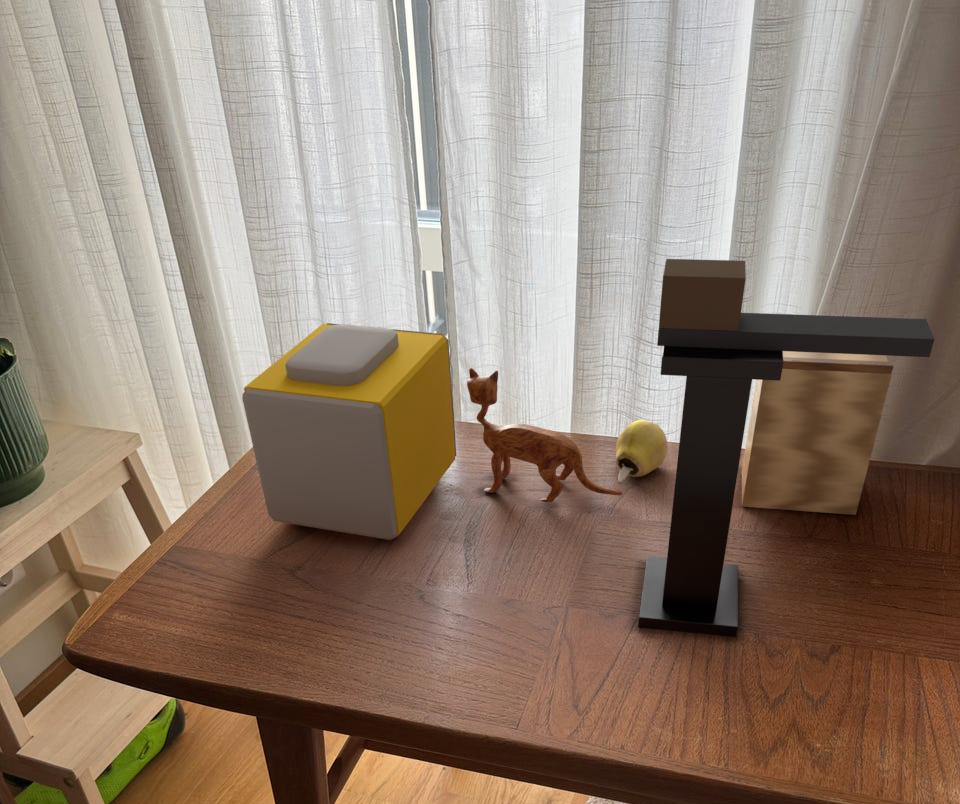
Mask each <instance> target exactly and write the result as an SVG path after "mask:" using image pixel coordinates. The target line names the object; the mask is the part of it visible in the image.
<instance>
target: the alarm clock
mask: <svg viewBox="0 0 960 804" xmlns="http://www.w3.org/2000/svg"><path fill="white" fill-rule="evenodd" d="M449 340H450V339H448V338H447V337H446V335H444V334H443V333H439V332H429V331H416V330H407V329H406V330H405V329H395V328H388V327H380V326H371V325H370V326H369V325H358V324H349V323H348V324H347V323H330V322H327V323H326V324H324V323H322V324H321V325H319V326H318V327H317V328H316V329H314V330H313V331H312V332H311V333H310V334H308V335H306V337H304V338H303V339H302V340H301V341H300V342H298V343H297V344H296V345H294V347H292V348H290V350H288V351H287V352H286V353H285V354H284V355H282V356H281V357H280V358H279V359H277V360H276V361H275V362H273V363H272V364H271V365H269V367H267V368H266V369H265V370H264V371H262V372H261V373H260V374H259V375H258V376H257V377H255V378H254V379H253V380H251V381H250V382H249V383H248V384H247V385H245V386H244V387H243V391H244V392H243V393H242V397H241V400H242V403H243V407H244V413H245V417H246V423H247V426H248V430H249V435H250V439H251V443H252V444H251V445H252V447H253V452H254V457H255V460H256V465H257V470H258V475H259V479H260V483H261V488H262V493H263V497H264V501H265V506H266V511H267V514H268V516H269V517H270V518H271V519H272V520H273V522H278V523H285V524H289V525H290V524H291V525H297V526H303V527H309V528H315V529H322V530H327V531H331V532H339V533H344V534H352V535H357V536H362V537H363V536H364V537H369V538H374V539H375V538H376V539H381V540H386V541H387V540H388V541H390V540H393V539H395V538H397V537H398V536H400V535H401V533H402V532H403V531H404V529H405V528H406V526H408V524H409V523H410V521H411V520H412V518H413V517H414V516H415V514H416V513H417V512H418V510H419V509H420V507H421V506H422V505H423V504H424V502H425V501H426V500H427V498H428V497H429V495H430V494H431V493H432V492H433V490H434V488H435V487H436V486H437V485H438V483H439V482H440V481H441V479H442V478H443V476H444V475H445V474H446V472H447V471H448V470H449V469H450V467H451V466H452V464H453V463H454V461H456V457H457V442H456V441H457V440H456V430H455V429H456V427H455V425H456V424H455V412H454V411H455V409H454V397H453V396H454V395H453V383H452V382H453V381H452V368H451V367H452V366H451V355H450V353H451V352H450V341H449Z"/></svg>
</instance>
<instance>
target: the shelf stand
mask: <svg viewBox="0 0 960 804" xmlns="http://www.w3.org/2000/svg"><path fill="white" fill-rule="evenodd" d="M662 347H663V348H662V355H661V364H660V375H661V376H675V377H686V378H685V385H684V397H683V404H682V405H683V406H682V415H681V422H680V423H681V424H680V433H679V441H678V442H679V443H678V452H677V461H676V470H675V471H676V472H675V481H674V489H673V498H672V499H673V500H672V509H671V519H670V528H669V535H668V536H669V537H668V545H667V546H668V547H667V554H666V555H667V556H666V557H665V558H664V557H655V556H654V557H653V556H647V557H646V560H645V561H646V563H645V569H644V576H643V583H642V591H641V598H640V599H641V600H640V605H639V614H638V623H637V627H638V628H643V629H655V630H663V631H674V632H684V633H695V634H705V635H713V636H714V635H715V636H724V637H733V638H734V637H735V638H736V637H737V636H738V630H739V564H734V563H725V557H726V551H727V545H728V537H729V531H730V526H731V517H732V511H733V506H734V499H735V492H736V486H737V479H738V475H739V474H738V473H739V469H740V468H739V466H740V460H741V453H742V447H743V441H744V436H745V435H744V434H745V428H746V421H747V415H748V410H749V403H750V395H751V389H752V383H753V380H756V379H757V380H777V381H780V380H781V374H782V369H783V363H784V362H783V351H769V350H745V349H721V348H698V347H674V346H662Z"/></svg>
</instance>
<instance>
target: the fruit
mask: <svg viewBox="0 0 960 804" xmlns="http://www.w3.org/2000/svg"><path fill="white" fill-rule="evenodd" d="M668 447H669V446H668V440H667V436H666V433H665V432H664V430H663V429H662V428H661V426H660V425H659V424H658V423H655V422H653V421H650V420H647V419H638V420H635V421H633V422H631V423H629V424H628V425H627V426H625V428H624V429H623V430H622V431H621V432H620V434H619V436H618V438H617V441H616V444H615V464H616V466H617V469H619V470H620V471H619V472H618V475H617V476H618V477H617V484H619V485H622V483H624V481H625V480H626V479H627V478H628V476H629V477H631V478H640V477H643V476H646V475H648V474H649V473H651V472H652V471H654V470H656V469H657V468H659V467H660V466H661V465H662V464H663V463H664V462H665V460H666V458H667V456H668Z"/></svg>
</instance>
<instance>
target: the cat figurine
mask: <svg viewBox="0 0 960 804" xmlns="http://www.w3.org/2000/svg"><path fill="white" fill-rule="evenodd" d="M468 373H469V377H468V379H467V381H466V387H467V391H468V394H469V399H470V402H471V403H473V404H476V405H479V406H480V407H481V408H480V410H479V411H478V413H477V415H476V420H477V422H479V424H481V425H482V426H483V431H482V441H483V443H484V445H485V446H486V447H487V448H488V449H489V450H490V451H491V452H492V453H493V454H492V455H491V461H490V467H491V471H492V475H493V483H492V485H491V487H485V488H484V491H483V492H484V493H488V494H493V493H496V492H498V491H499V490H500V489H501V487H502V485H503V480H504V479H507V478H508V476H509V475H510V473H511V464H512V463H511V458H512V459H515V460H518V461H523V462H526V463H530V464H532V465H536V466H537V471H538V474H539V475H540V477H541V479H542V480H543V481H544V482H545V484H547V485H548V486H550V487H551V490H550V491H549V492H548V494H547V496H546V497H542V498H540V499H539V501H541V502H543V503H553V502H554V501H555V500H556V498H557V497H559V495H560V494H562V492H563V489H564V487H565V486H564V484H563V483H562V482H561V481H565V480H566V479H567V478H568V477H569V476H570V475H571V474H572V472H574V473H575V476H576V478H577V479H578V481H579V483H580V484H581V485H582V486H583V487H584V488H585V489H588V490H589V491H591V492H594V493H598V494H602V495H609V496H622V495H624V493H623V491H622V490H621V489H617V488H610V487H606V486H601V485H599V484H596V483H594V482H593V481H591V480H590V479H589V478H588V477H587V475H586V473H585V470H584V467H583V456H582V453H581V451H580V448H579V447H578V446H577V443H575V442H574V440H573V439H571V438H570V437H569V436H568V435H567V434H565V433H561V432H559V431H556V430H551V429H546V428H543V427H539V426H534V425H530V424H526V423H511V424H507V425H503V426H502V425H498V424H495V423H492V422H490V421H488V420H487V419H486V415H487V413H488V411H489V407H490V406H492V405H495V404H496V403H497V401H498V380H499V371H498V370H495V371H494V372H493V373H492V374H491V375H490V376H480V375H479V374H478V372H477V371H476V370H475V369H474V368H473V367H470V368H469V369H468ZM502 464H503V467H502ZM562 465H563V468H562V469H561V472H560V473H557V469H558V468H559V467H560V466H562Z"/></svg>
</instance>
